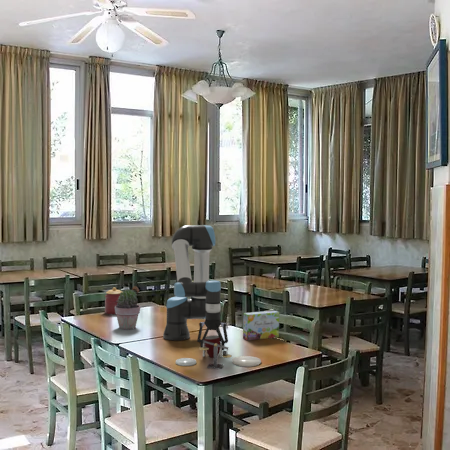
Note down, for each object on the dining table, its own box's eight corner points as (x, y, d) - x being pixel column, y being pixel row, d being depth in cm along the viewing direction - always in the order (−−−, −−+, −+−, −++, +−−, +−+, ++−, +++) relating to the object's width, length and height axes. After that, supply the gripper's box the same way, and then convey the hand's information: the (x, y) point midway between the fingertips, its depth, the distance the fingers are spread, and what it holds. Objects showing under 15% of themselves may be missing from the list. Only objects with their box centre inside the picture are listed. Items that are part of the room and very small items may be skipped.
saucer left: (173, 365, 275) (173, 363, 274) (177, 359, 284) (177, 357, 284) (194, 366, 273) (194, 364, 273) (197, 360, 283) (197, 358, 283)
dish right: (230, 365, 275) (230, 363, 275) (233, 357, 289) (233, 355, 289) (259, 367, 273) (259, 364, 273) (261, 359, 287) (261, 356, 287)
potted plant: (104, 329, 346) (105, 288, 345) (122, 323, 364) (122, 284, 363) (130, 332, 339) (131, 290, 338) (147, 326, 357) (147, 286, 356)
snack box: (247, 341, 324) (247, 314, 323) (242, 338, 329) (243, 312, 328) (279, 337, 334) (279, 311, 333) (274, 335, 339) (274, 309, 338)
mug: (199, 356, 292) (197, 337, 291) (211, 353, 297) (209, 334, 297) (213, 360, 284) (211, 340, 283) (225, 356, 289) (223, 336, 289)
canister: (101, 314, 392) (101, 288, 392) (108, 310, 405) (108, 285, 404) (119, 314, 390) (120, 289, 389) (126, 311, 403) (126, 286, 402)
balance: (198, 367, 272) (198, 341, 271) (200, 364, 276) (200, 338, 276) (230, 369, 270) (231, 342, 269) (232, 366, 275) (232, 340, 274)
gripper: (191, 312, 287) (190, 357, 288) (232, 313, 284) (232, 359, 285) (193, 309, 294) (193, 353, 295) (234, 310, 292) (233, 355, 293)
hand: (212, 356), depth 290 cm, fingers closed on mug, 8 cm apart
